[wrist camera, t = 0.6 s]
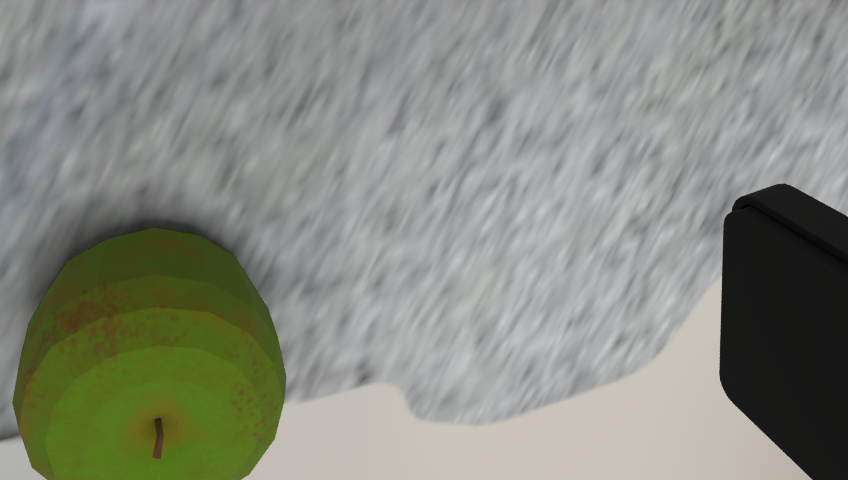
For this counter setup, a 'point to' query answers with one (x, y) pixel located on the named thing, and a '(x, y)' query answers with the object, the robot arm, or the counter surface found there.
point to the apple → (150, 365)
